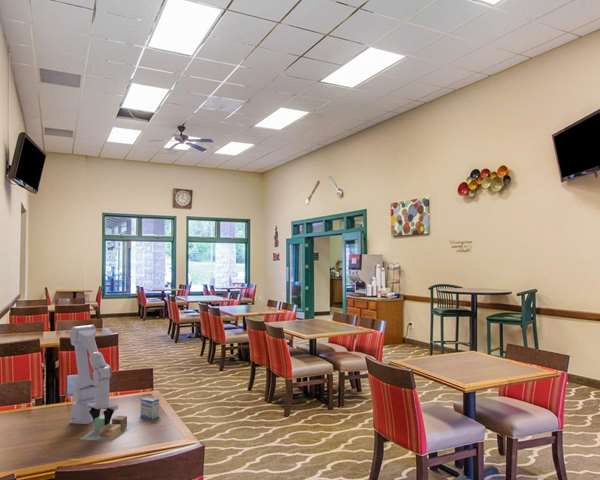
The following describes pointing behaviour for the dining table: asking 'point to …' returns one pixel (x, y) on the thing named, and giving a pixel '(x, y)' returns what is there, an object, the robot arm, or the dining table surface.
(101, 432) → the oak base block
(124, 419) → the walnut block
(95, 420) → the sage-green block
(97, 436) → the blueprint board
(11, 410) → the dining table surface
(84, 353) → the robot arm
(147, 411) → the medicine box
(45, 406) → the dining table surface
